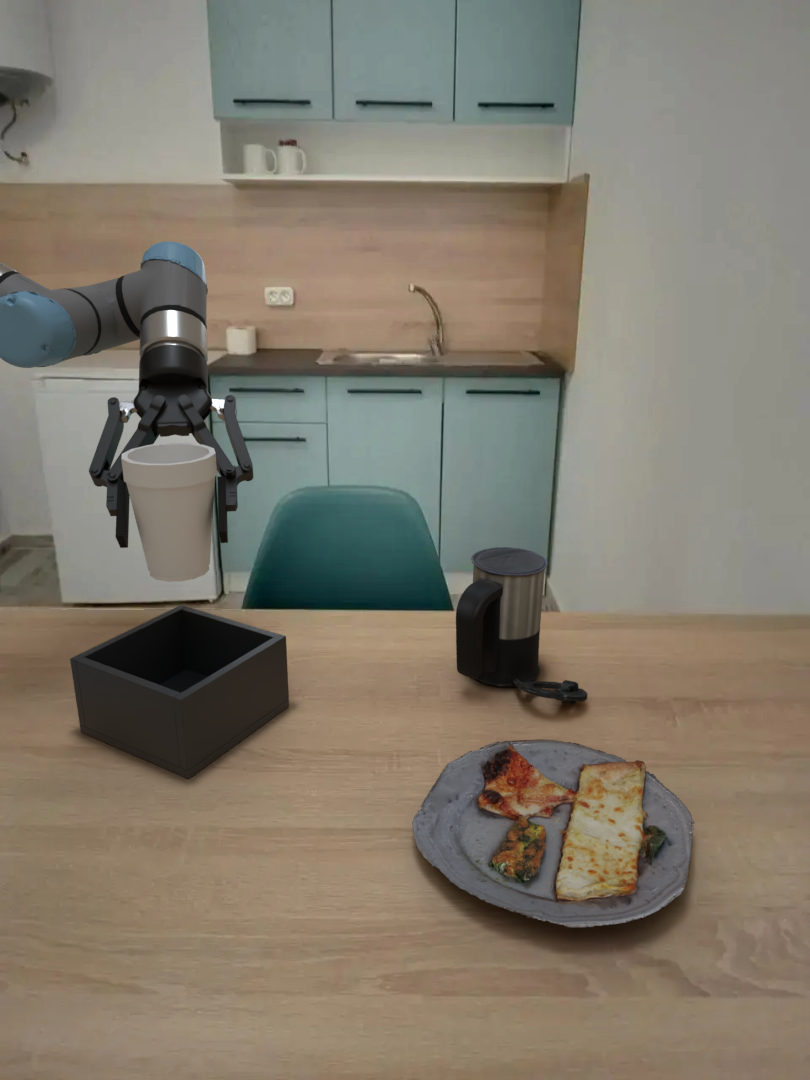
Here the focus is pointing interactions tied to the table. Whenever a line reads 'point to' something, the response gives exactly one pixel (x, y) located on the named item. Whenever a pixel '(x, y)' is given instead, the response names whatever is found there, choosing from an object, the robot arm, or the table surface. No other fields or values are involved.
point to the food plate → (557, 832)
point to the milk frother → (506, 624)
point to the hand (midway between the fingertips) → (173, 539)
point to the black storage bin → (181, 687)
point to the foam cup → (173, 506)
